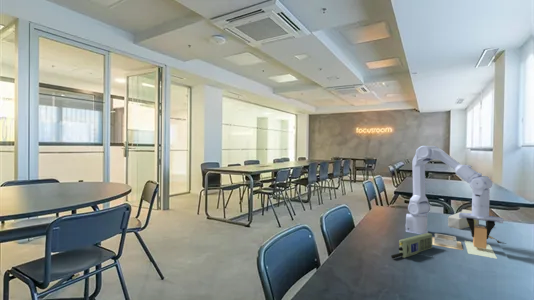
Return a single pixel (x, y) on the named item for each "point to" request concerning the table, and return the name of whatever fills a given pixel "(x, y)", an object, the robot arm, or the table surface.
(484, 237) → the plug
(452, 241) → the grey square ring
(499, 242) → the adjustable wrench
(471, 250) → the mat
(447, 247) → the base plate
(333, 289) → the table surface
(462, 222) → the block
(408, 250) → the handheld radio
